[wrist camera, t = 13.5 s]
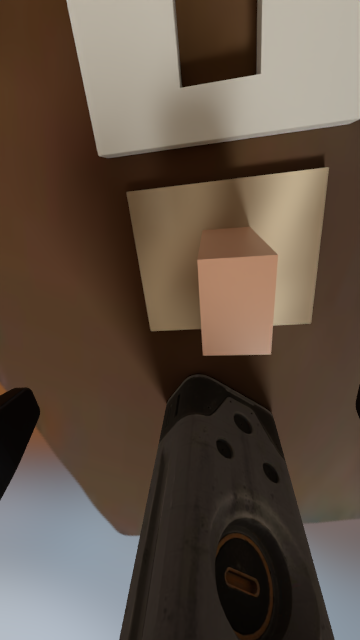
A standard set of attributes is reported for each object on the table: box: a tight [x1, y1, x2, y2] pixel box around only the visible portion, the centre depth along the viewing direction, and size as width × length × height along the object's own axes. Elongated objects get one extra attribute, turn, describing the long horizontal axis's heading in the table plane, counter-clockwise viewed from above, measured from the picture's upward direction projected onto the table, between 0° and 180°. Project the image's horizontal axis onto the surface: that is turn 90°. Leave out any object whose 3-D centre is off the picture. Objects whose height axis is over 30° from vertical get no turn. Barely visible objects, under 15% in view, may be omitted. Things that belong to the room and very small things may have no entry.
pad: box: [126, 167, 329, 331], centre depth 19 cm, size 12×10×1 cm
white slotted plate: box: [66, 0, 360, 158], centre depth 13 cm, size 14×10×2 cm
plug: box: [197, 227, 278, 356], centre depth 15 cm, size 3×4×8 cm
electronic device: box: [119, 374, 334, 640], centre depth 16 cm, size 9×6×20 cm, turn 59°
